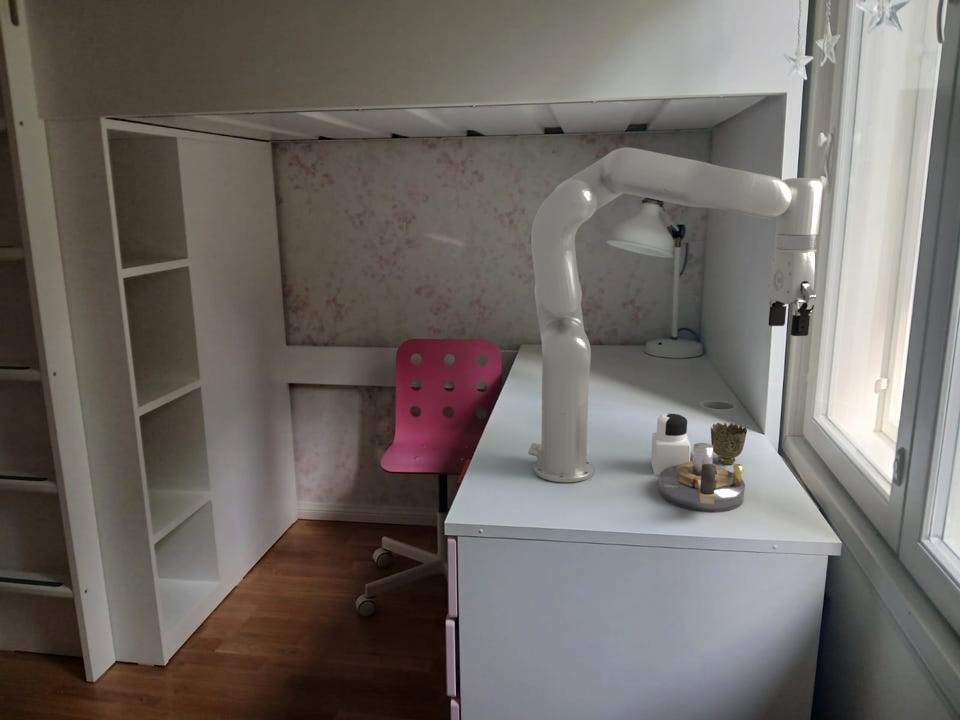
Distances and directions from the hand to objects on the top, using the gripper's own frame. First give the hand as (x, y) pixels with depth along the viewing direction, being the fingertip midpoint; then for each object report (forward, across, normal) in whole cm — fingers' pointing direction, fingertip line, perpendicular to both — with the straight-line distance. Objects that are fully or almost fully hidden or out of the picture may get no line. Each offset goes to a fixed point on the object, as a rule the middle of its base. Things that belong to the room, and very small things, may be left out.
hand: (787, 330), depth 144 cm
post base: (+31, +9, -19) cm, 37 cm away
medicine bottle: (+31, -4, -21) cm, 37 cm away
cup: (+31, -7, -8) cm, 32 cm away
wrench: (+27, +12, -20) cm, 36 cm away
